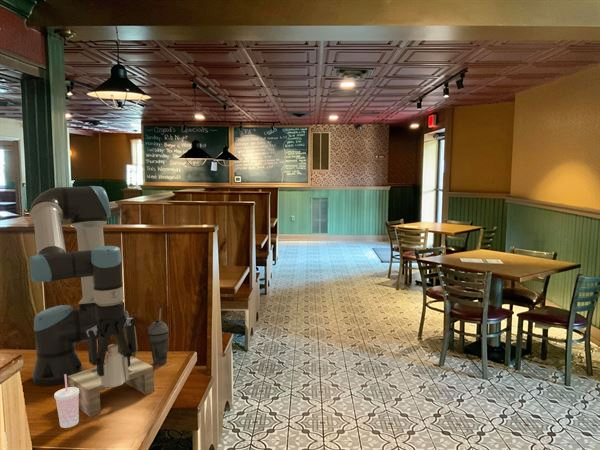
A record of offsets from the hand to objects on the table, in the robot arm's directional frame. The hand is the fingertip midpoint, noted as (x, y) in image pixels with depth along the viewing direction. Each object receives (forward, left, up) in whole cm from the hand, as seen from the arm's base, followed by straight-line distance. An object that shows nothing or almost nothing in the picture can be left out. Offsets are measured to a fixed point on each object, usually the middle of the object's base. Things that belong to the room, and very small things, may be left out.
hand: (115, 381), depth 130 cm
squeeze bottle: (-35, +21, -9) cm, 41 cm away
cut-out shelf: (-11, +4, -9) cm, 15 cm away
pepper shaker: (0, 0, -1) cm, 1 cm away
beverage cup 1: (-5, -11, -9) cm, 16 cm away
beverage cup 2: (-22, +27, -9) cm, 36 cm away
